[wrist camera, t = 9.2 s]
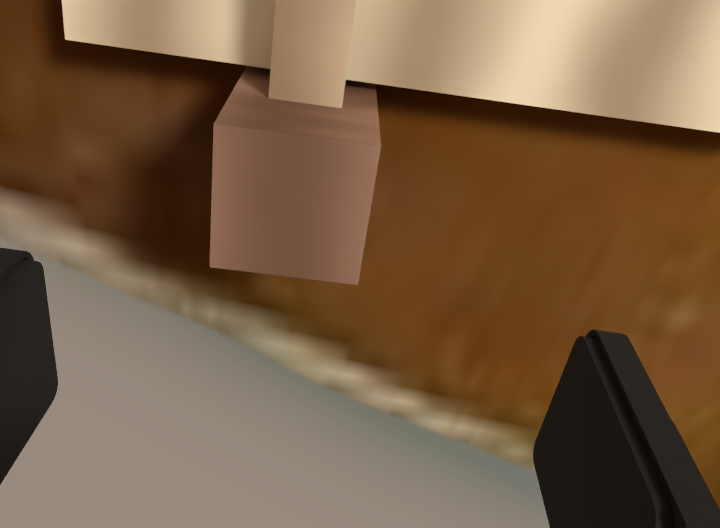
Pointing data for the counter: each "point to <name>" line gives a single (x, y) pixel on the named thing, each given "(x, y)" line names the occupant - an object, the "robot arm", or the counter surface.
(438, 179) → the counter surface
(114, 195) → the counter surface
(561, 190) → the counter surface
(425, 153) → the counter surface
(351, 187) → the brown handled block
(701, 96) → the board
